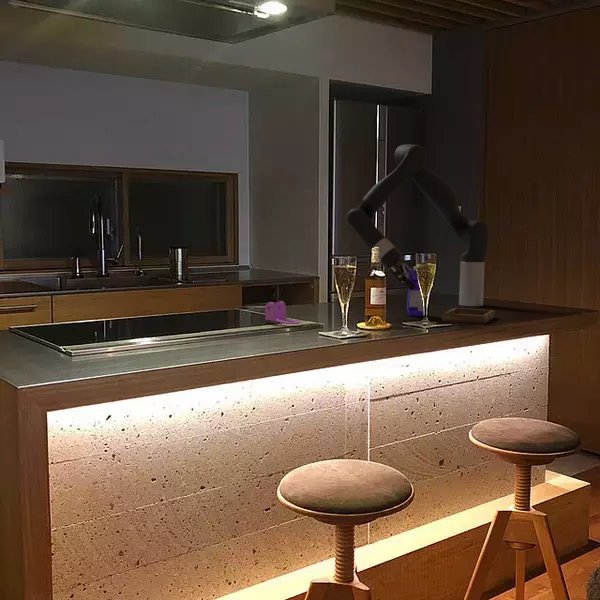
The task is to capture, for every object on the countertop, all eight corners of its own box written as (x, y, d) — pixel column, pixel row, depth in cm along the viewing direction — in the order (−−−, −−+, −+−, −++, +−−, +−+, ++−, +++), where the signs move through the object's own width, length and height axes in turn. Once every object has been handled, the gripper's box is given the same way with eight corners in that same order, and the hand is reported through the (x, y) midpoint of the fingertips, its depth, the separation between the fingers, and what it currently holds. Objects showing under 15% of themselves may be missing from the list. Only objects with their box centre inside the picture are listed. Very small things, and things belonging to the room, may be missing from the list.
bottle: (427, 315, 277) (428, 266, 275) (428, 317, 271) (430, 267, 269) (406, 314, 277) (408, 265, 276) (407, 316, 272) (408, 266, 270)
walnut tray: (454, 314, 278) (454, 307, 278) (494, 317, 272) (494, 310, 272) (442, 321, 262) (442, 313, 261) (484, 323, 256) (484, 316, 256)
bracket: (265, 323, 253) (265, 301, 253) (278, 321, 257) (278, 300, 256) (292, 327, 244) (292, 305, 243) (305, 326, 248) (305, 304, 247)
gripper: (387, 247, 269) (419, 282, 266) (400, 245, 282) (430, 278, 278) (372, 262, 272) (403, 296, 268) (385, 260, 285) (415, 292, 281)
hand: (417, 287), depth 273 cm, fingers open, 8 cm apart
